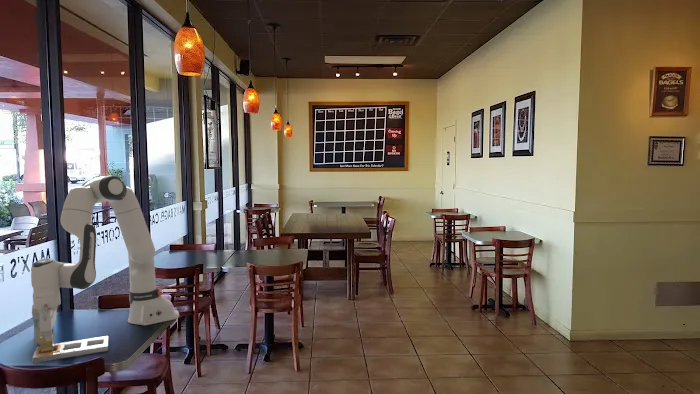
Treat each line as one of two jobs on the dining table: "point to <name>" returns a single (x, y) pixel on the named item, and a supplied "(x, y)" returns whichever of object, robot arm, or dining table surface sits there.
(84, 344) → the white slotted tray
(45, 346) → the brass peg
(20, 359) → the dining table surface
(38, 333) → the bottle
